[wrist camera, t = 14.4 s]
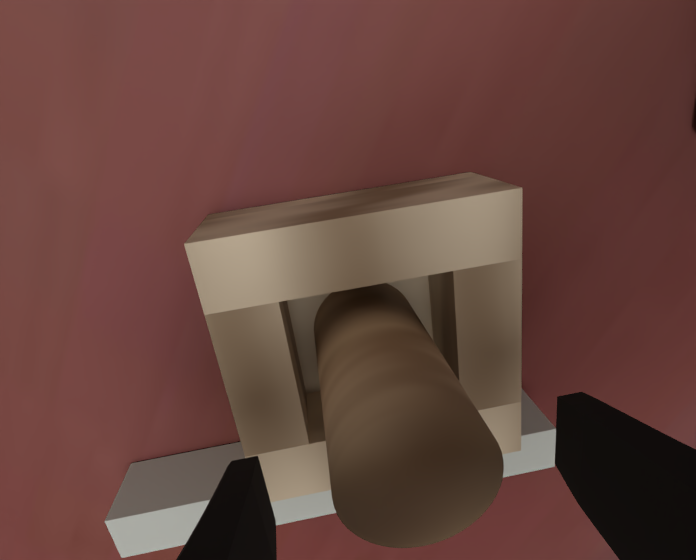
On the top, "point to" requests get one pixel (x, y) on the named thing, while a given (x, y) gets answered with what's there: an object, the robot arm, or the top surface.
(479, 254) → the socket block
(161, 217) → the top surface
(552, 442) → the backstop wall
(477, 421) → the oak dowel
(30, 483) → the top surface
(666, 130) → the top surface
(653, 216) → the top surface
